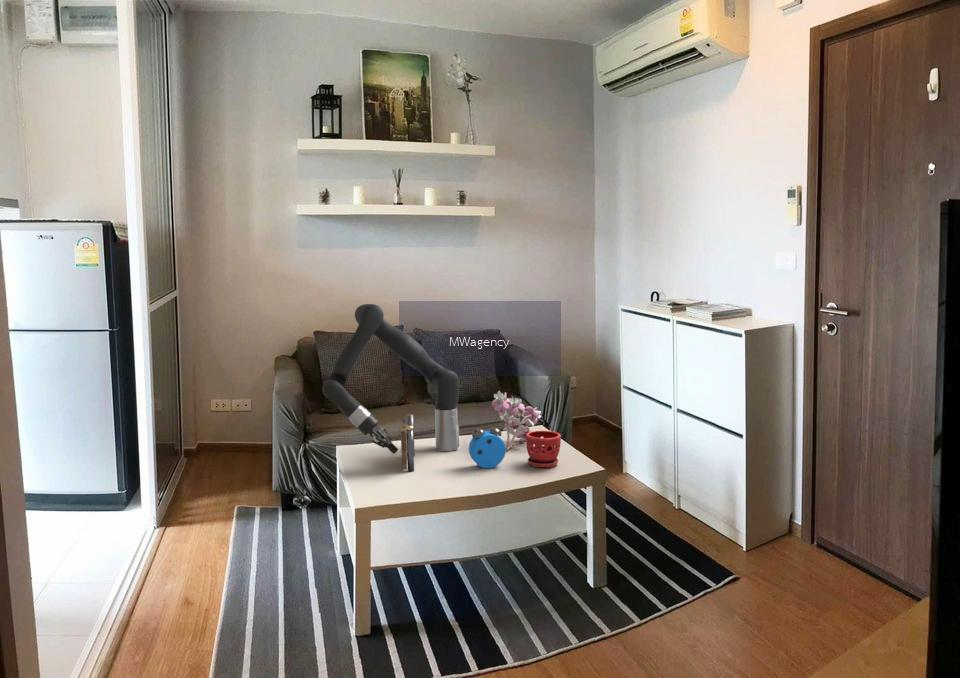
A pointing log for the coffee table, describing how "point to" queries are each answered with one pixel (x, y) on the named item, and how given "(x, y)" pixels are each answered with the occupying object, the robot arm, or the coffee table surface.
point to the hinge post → (411, 422)
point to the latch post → (410, 448)
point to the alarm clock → (487, 447)
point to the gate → (404, 445)
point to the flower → (504, 407)
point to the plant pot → (543, 448)
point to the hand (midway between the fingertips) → (396, 451)
